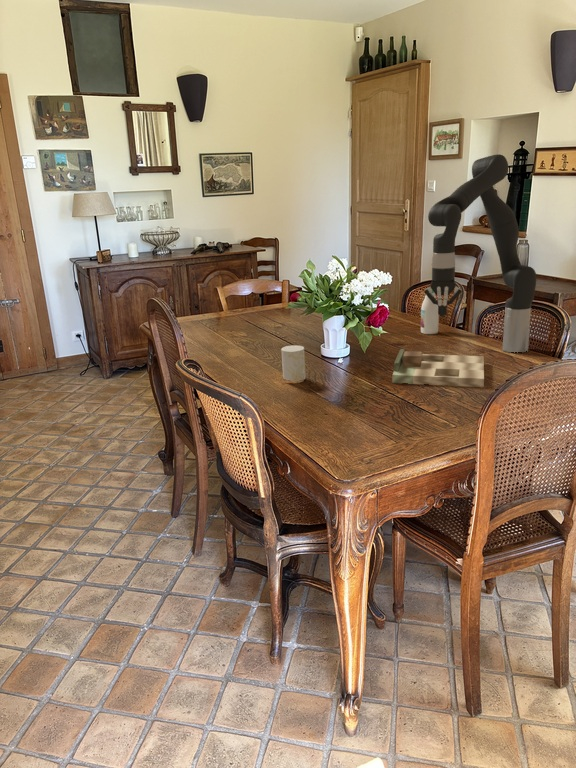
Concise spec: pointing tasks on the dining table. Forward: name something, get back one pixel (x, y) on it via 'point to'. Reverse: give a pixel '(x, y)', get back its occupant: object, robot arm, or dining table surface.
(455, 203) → the robot arm
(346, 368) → the dining table surface
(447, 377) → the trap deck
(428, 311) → the milk bottle
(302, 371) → the grey beige cylinder
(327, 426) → the dining table surface
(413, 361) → the walnut block
